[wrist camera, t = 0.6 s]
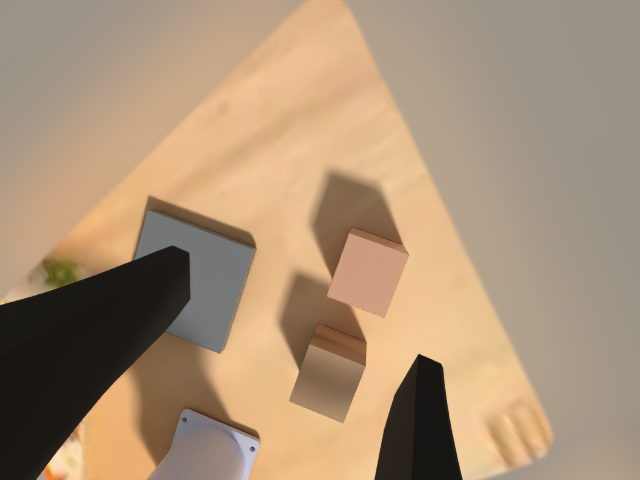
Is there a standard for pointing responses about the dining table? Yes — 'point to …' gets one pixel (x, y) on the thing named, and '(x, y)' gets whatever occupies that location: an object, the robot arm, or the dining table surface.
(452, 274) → the dining table surface
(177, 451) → the robot arm
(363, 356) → the walnut brick
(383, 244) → the pinkish tan block
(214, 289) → the base plate
